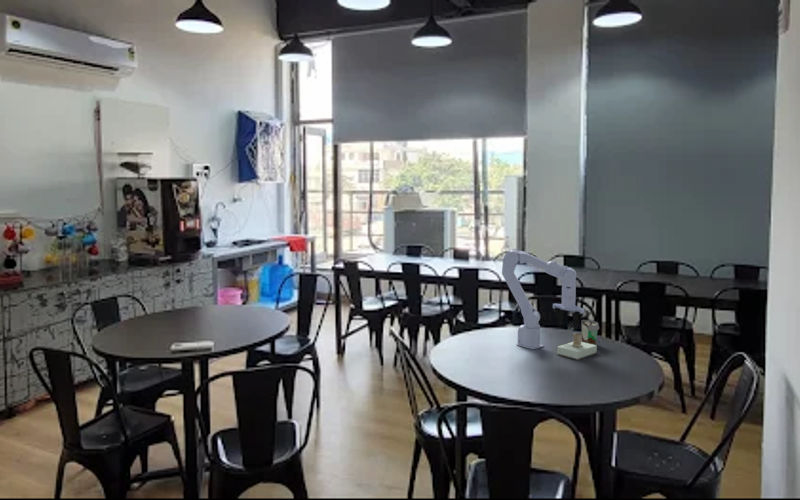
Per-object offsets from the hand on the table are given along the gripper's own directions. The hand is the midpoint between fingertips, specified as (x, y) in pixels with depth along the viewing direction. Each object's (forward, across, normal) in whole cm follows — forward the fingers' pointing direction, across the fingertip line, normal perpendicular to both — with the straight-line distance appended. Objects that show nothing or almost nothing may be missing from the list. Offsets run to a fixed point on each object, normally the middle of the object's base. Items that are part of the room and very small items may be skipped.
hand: (567, 327), depth 274 cm
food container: (+10, +3, +14) cm, 18 cm away
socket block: (+10, +7, -3) cm, 12 cm away
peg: (+9, +7, -3) cm, 12 cm away
